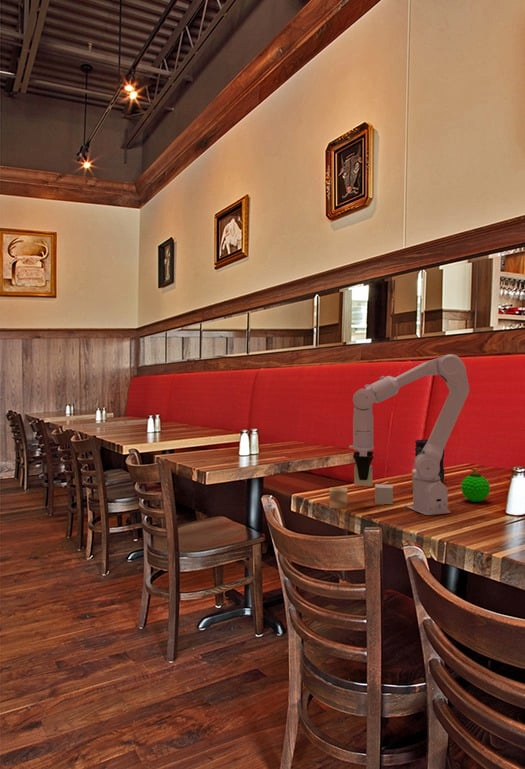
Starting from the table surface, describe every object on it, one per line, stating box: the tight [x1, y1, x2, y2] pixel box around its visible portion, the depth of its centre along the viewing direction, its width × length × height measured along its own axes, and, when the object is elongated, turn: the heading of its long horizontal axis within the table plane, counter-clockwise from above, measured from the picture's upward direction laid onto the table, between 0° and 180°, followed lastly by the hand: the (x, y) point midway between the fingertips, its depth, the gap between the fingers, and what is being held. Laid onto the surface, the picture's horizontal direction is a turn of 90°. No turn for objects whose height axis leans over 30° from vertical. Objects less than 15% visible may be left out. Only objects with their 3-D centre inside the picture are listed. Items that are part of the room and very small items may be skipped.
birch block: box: [328, 487, 349, 510], centre depth 157 cm, size 5×5×5 cm
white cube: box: [374, 483, 394, 505], centre depth 162 cm, size 5×5×5 cm
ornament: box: [460, 467, 491, 503], centre depth 162 cm, size 8×8×10 cm
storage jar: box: [414, 439, 445, 485], centre depth 190 cm, size 10×10×15 cm
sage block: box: [353, 464, 373, 487], centre depth 156 cm, size 5×5×5 cm
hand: (363, 478), depth 156 cm, fingers closed on sage block, 5 cm apart
